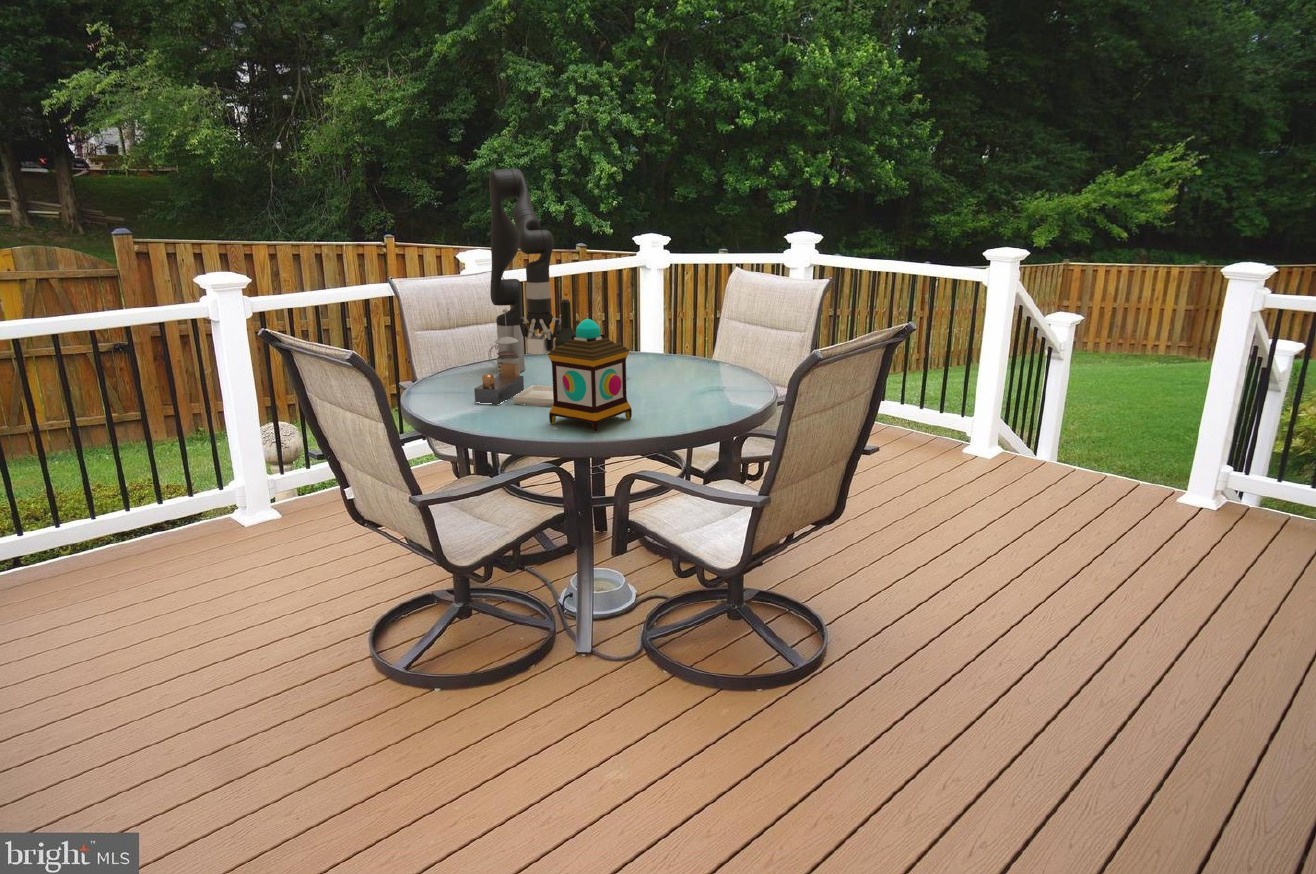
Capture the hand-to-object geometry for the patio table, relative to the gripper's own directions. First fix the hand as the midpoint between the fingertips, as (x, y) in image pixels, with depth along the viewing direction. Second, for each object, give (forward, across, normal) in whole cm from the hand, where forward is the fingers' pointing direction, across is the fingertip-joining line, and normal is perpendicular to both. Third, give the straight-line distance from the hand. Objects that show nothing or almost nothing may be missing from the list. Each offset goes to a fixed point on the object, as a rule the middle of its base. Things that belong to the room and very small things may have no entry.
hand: (541, 350), depth 275 cm
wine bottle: (+16, -3, -15) cm, 22 cm away
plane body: (+16, +15, 0) cm, 22 cm away
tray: (+16, 0, 0) cm, 16 cm away
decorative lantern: (+16, -23, +21) cm, 35 cm away
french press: (+16, +23, -23) cm, 36 cm away
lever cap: (0, 0, 0) cm, 0 cm away
